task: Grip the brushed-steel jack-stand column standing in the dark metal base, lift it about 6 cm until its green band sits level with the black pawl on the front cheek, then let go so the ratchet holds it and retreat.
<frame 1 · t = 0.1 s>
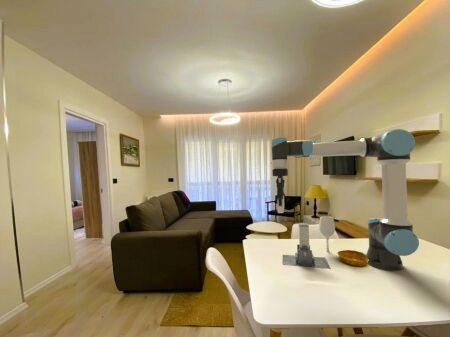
hand: (281, 210, 110), 28 cm above the table, fingers open, 13 cm apart
wineglass: (327, 254, 124), on the table
column: (304, 242, 112), point 11 cm above the table, slide at 0.0 cm, touching stand base
stand base: (304, 263, 112), on the table
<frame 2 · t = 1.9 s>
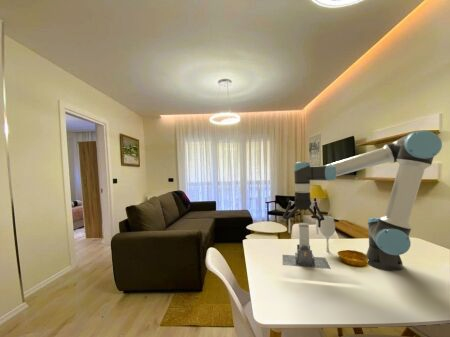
hand: (303, 233, 113), 16 cm above the table, fingers open, 13 cm apart
column: (304, 242, 112), point 11 cm above the table, slide at 0.0 cm
everything else where it was.
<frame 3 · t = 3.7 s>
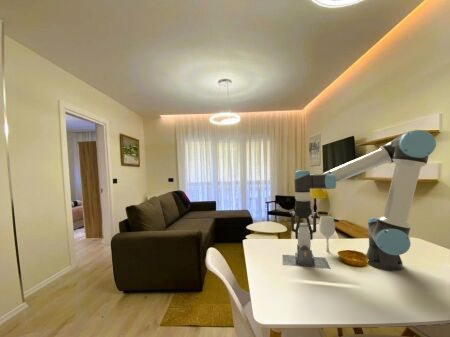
hand: (304, 245, 113), 9 cm above the table, fingers closed on column, 4 cm apart
column: (304, 242, 112), point 11 cm above the table, slide at 0.0 cm, touching gripper, stand base
everything else where it was.
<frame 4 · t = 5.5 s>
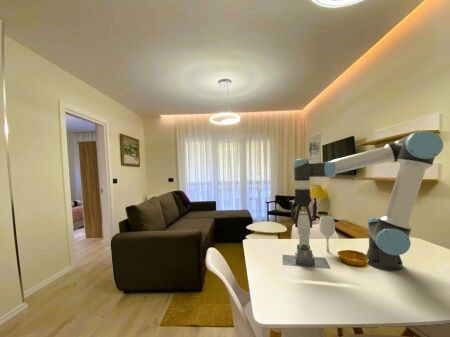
hand: (303, 233, 113), 15 cm above the table, fingers closed on column, 4 cm apart
column: (303, 231, 113), point 17 cm above the table, slide at 6.0 cm, touching gripper
everything else where it was.
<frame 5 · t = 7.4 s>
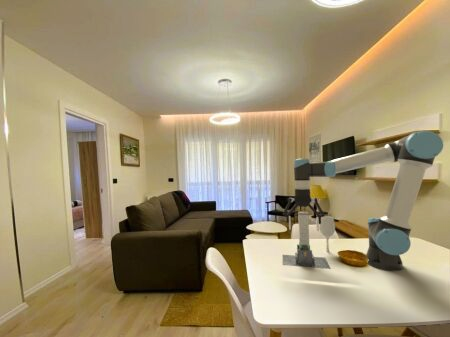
hand: (303, 229, 113), 17 cm above the table, fingers open, 13 cm apart
column: (303, 231, 113), point 17 cm above the table, slide at 6.0 cm
everything else where it was.
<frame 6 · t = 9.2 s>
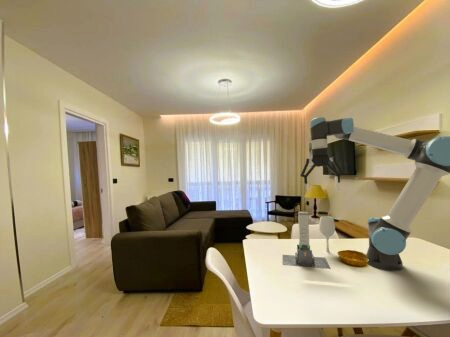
hand: (322, 189, 111), 38 cm above the table, fingers open, 13 cm apart
nothing on the table moved.
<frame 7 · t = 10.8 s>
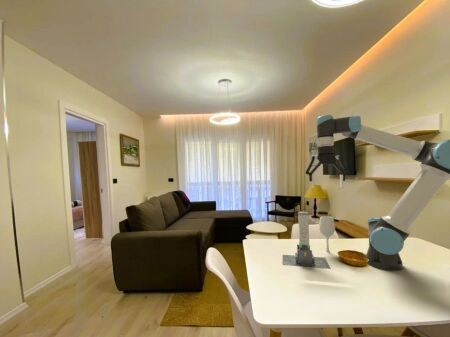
hand: (327, 187, 111), 39 cm above the table, fingers open, 13 cm apart
nothing on the table moved.
at the end: column slide at 6.0 cm; the gripper is holding nothing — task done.
